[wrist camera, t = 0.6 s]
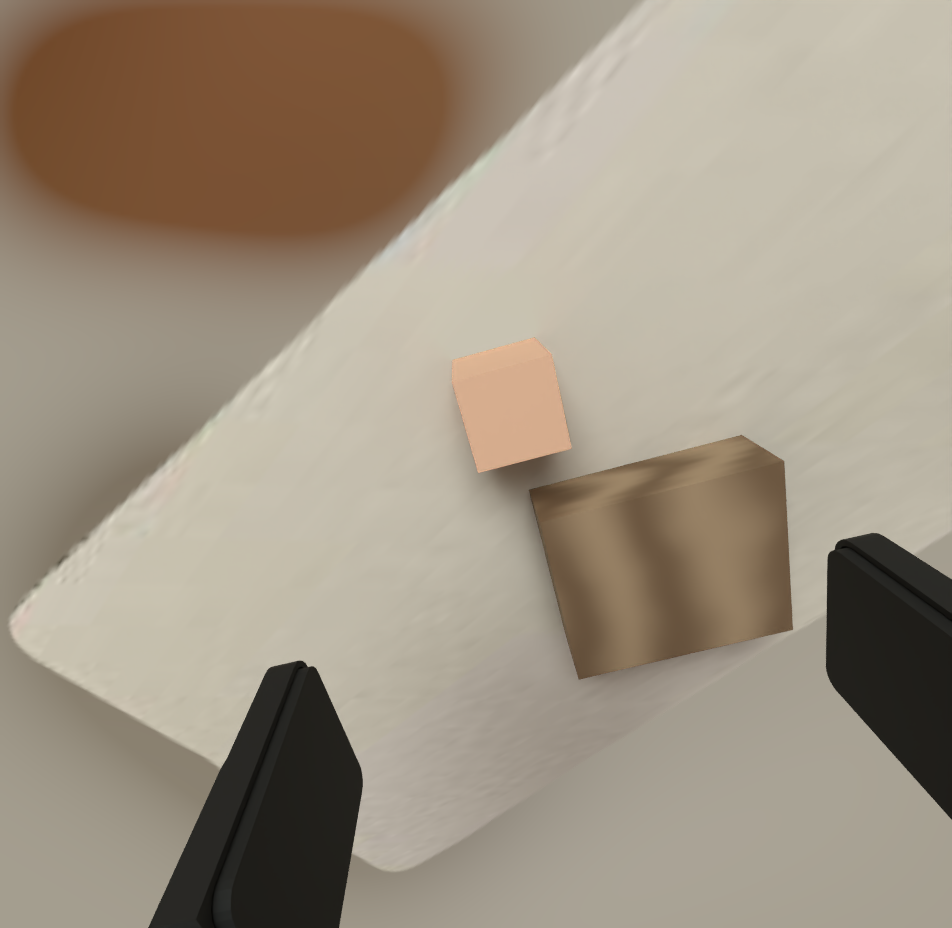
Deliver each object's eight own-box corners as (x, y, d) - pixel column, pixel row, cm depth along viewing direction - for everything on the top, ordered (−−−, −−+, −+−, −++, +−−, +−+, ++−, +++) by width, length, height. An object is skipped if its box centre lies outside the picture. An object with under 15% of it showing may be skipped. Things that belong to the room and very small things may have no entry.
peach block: (534, 337, 31) (551, 354, 25) (551, 416, 33) (571, 448, 27) (452, 359, 31) (452, 381, 26) (474, 436, 33) (478, 472, 27)
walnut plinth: (738, 433, 34) (784, 461, 29) (751, 584, 38) (792, 629, 33) (528, 487, 35) (539, 522, 30) (564, 629, 39) (578, 679, 34)
